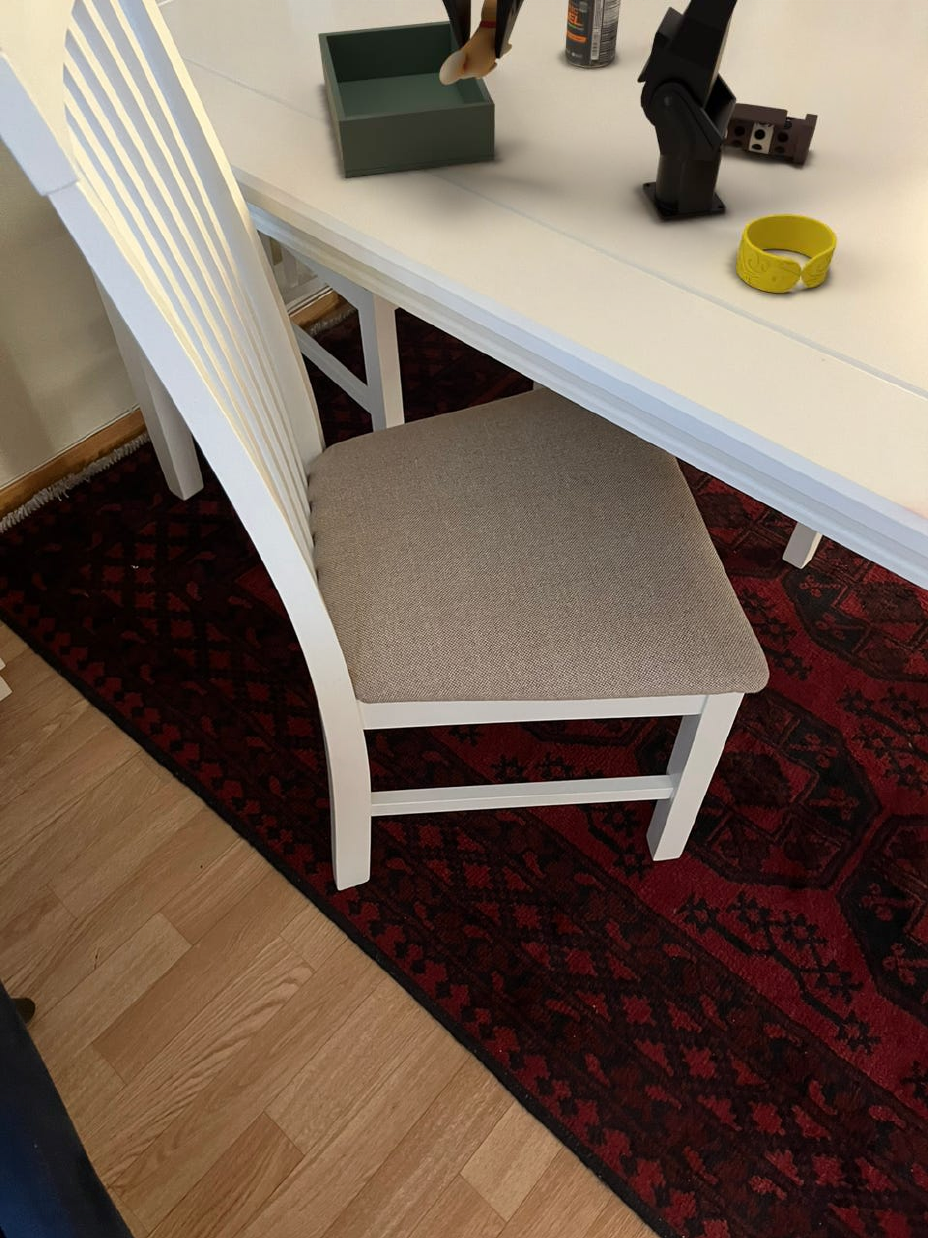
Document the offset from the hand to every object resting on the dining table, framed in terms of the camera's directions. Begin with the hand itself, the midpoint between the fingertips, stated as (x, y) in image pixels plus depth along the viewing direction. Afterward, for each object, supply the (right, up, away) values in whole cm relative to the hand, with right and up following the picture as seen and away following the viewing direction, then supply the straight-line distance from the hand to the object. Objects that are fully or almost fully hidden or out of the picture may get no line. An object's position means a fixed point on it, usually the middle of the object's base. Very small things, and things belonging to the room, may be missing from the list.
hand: (481, 53), depth 87 cm
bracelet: (+26, -22, -2) cm, 34 cm away
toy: (0, -1, +1) cm, 1 cm away
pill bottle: (+13, +14, +25) cm, 32 cm away
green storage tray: (-8, +2, +16) cm, 18 cm away
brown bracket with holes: (+34, -5, +10) cm, 36 cm away
